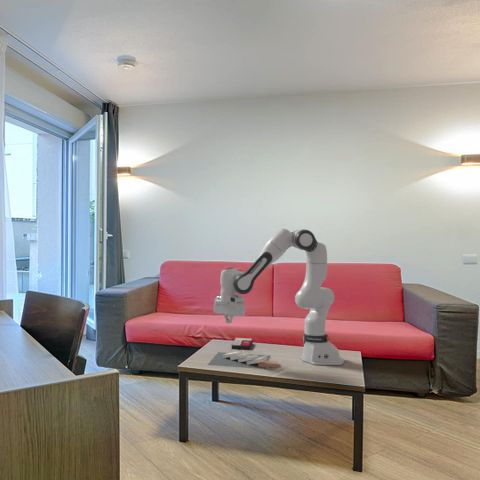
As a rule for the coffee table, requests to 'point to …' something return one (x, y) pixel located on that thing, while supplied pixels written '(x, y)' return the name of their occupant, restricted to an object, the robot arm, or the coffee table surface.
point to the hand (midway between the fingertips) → (228, 323)
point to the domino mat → (234, 361)
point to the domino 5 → (268, 364)
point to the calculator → (242, 343)
